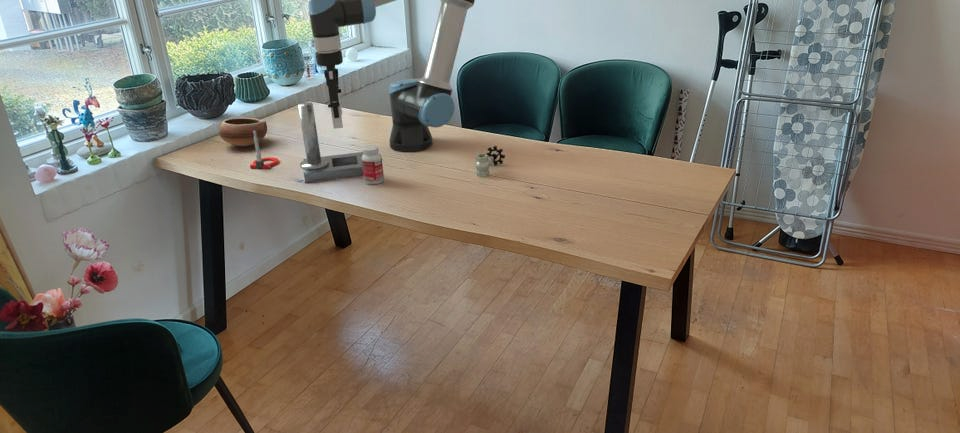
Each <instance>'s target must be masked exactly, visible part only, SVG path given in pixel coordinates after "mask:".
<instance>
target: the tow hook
mask: <svg viewBox="0 0 960 433" xmlns="http://www.w3.org/2000/svg"><path fill="white" fill-rule="evenodd" d="M253 132H254V142H255V144H254V148H255V156H256V160H253V162H252V163H250V164H249V168H250V169H271V167H273V166H275V165H278V164H279V163H280V161H279V158H277V157H271V156H270V157H262V154H261V152H260V151H261V150H260V145H259V142H258V137H257V135H256V131H253ZM264 162H266V163H264ZM267 162H268V163H267Z"/></svg>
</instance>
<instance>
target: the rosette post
mask: <svg viewBox="0 0 960 433" xmlns="http://www.w3.org/2000/svg"><path fill="white" fill-rule="evenodd" d="M297 107H298V113H299V118H300V125H301V131H302V138H303V144H304V145H303V146H304V149H305V151H304V152H305V156H306V158H303V160H302V161H301V162H300V164H299V166H300V168H301V169H302V170H303V179H304V183H307V184H308V183H314V182H315V183H316V182H322V181H331V180H338V179H345V178H346V179H347V178H354V177H361V176H362V177H364V175H363V167H362V156H363V155H364V153H363V151H359V152H351V153H349V152H348V153H343V154H342V153H341V154H336V155H334V154H332V155H324V156H321V150H320V143H319V137H318V136H319V135H318V131H317V122H316V117H315V110H314V103H313V102H310V101H306V102H301V103H298V104H297Z"/></svg>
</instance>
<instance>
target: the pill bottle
mask: <svg viewBox="0 0 960 433" xmlns="http://www.w3.org/2000/svg"><path fill="white" fill-rule="evenodd" d="M362 152H363V153H364V155H363V156H362V167H363V175H364V176H363V181H364V183H365V184H366V185H379V184H381V183H383V182H384V180H385V174H384V167H383V157H382V154H381V153H380V151H379V146H378V145H366V146H364V147H362Z"/></svg>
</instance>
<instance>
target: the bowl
mask: <svg viewBox="0 0 960 433" xmlns="http://www.w3.org/2000/svg"><path fill="white" fill-rule="evenodd" d="M253 131H256V135H257V137H258V143H259V142H261V141H262V140H263V139H264V138H265V136H266V135H267V133H268V125H267V121H266V120H261V119H258V118H251V117H235V118H234V117H233V118H227V119H224V120H223V121H222V122H221V125H220V128H219V137H220V138H221V139H222V140H223V141H224V142H226V143H227V144H230V145H232V146H237V147H250V146H253V145H255V142H254V132H253Z"/></svg>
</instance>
